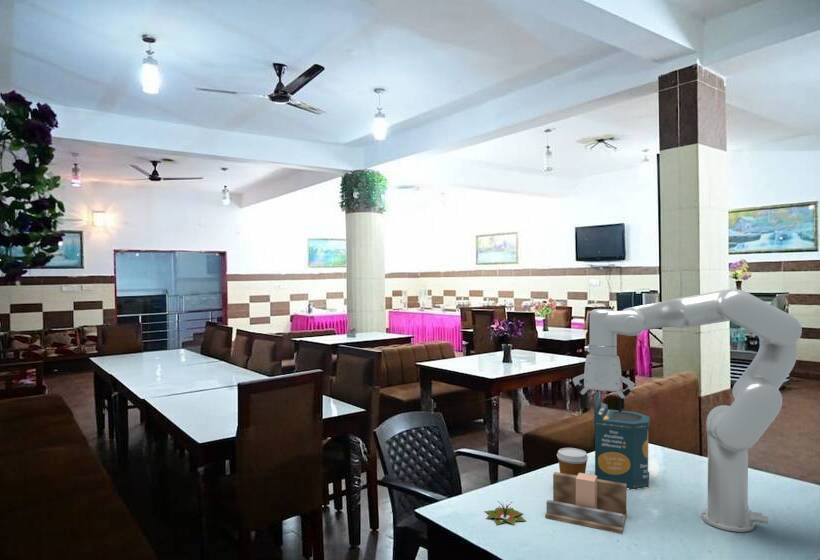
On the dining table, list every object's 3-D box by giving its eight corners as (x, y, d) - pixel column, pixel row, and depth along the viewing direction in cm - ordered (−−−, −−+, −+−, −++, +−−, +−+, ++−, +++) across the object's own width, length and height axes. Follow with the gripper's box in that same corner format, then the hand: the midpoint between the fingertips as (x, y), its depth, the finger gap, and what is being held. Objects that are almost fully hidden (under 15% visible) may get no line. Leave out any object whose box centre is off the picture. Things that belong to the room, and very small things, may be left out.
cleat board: (626, 514, 153) (626, 482, 153) (621, 533, 141) (621, 499, 141) (555, 500, 162) (555, 470, 162) (545, 517, 151) (545, 485, 150)
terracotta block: (594, 517, 148) (594, 481, 148) (575, 514, 151) (575, 478, 151) (597, 510, 153) (597, 475, 153) (578, 507, 155) (578, 472, 155)
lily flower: (493, 530, 144) (493, 513, 144) (477, 511, 156) (477, 495, 156) (534, 525, 147) (534, 508, 147) (515, 507, 159) (515, 491, 159)
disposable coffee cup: (582, 498, 163) (582, 459, 163) (551, 491, 169) (552, 453, 169) (592, 488, 171) (592, 451, 171) (563, 482, 177) (563, 445, 177)
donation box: (599, 467, 190) (599, 388, 190) (649, 475, 183) (650, 392, 183) (593, 483, 175) (593, 397, 175) (647, 492, 168) (648, 402, 168)
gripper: (570, 350, 159) (570, 408, 160) (633, 354, 151) (633, 415, 152) (575, 347, 166) (575, 403, 166) (635, 351, 158) (635, 409, 158)
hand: (602, 409), depth 159 cm, fingers open, 9 cm apart
